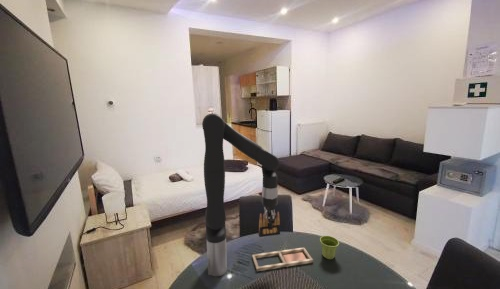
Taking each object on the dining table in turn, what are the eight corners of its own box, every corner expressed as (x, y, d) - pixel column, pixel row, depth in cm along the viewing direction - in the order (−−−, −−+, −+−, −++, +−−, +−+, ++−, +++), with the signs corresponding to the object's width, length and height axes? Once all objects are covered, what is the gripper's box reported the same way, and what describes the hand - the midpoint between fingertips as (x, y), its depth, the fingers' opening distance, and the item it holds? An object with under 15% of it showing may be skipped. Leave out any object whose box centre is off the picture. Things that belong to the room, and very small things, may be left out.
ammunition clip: (259, 237, 113) (259, 214, 111) (258, 234, 115) (258, 212, 113) (280, 234, 116) (280, 212, 113) (279, 232, 117) (279, 210, 115)
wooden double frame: (256, 271, 112) (256, 268, 111) (252, 257, 122) (252, 254, 121) (313, 262, 118) (313, 259, 117) (304, 249, 127) (304, 247, 127)
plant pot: (335, 250, 127) (336, 236, 125) (340, 262, 118) (341, 246, 116) (317, 249, 128) (318, 235, 126) (321, 261, 119) (322, 245, 117)
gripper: (258, 190, 117) (258, 221, 121) (266, 201, 104) (265, 236, 107) (273, 189, 119) (272, 220, 122) (282, 200, 105) (281, 234, 109)
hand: (269, 227), depth 115 cm, fingers closed on ammunition clip, 2 cm apart
